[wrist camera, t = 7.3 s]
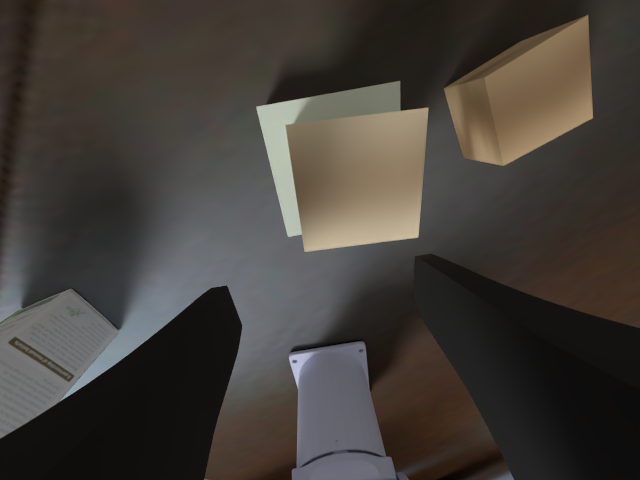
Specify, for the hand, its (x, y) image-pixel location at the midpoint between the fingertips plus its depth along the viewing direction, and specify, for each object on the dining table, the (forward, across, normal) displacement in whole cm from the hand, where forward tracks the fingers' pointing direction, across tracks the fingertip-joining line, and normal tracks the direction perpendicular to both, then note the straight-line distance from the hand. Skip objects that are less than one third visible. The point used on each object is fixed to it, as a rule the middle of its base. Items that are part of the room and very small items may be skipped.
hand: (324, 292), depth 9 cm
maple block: (+8, -2, -4) cm, 9 cm away
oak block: (+10, -13, -6) cm, 17 cm away
